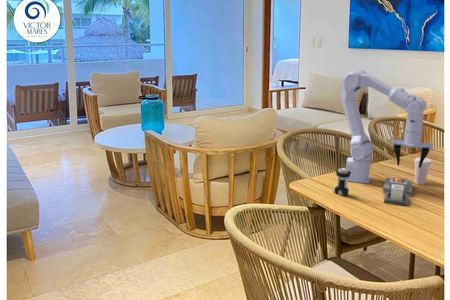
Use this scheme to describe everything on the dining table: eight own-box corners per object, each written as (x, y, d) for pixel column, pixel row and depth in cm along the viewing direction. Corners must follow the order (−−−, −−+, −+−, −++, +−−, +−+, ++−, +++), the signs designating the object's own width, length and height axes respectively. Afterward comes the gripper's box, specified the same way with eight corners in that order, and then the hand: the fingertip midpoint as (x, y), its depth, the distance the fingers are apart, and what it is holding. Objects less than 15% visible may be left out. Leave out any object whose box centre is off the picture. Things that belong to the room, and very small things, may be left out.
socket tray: (383, 202, 170) (384, 199, 170) (385, 195, 177) (385, 191, 177) (407, 206, 168) (407, 202, 167) (408, 198, 175) (408, 194, 174)
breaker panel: (382, 192, 180) (384, 181, 178) (385, 182, 190) (386, 172, 189) (411, 196, 176) (412, 185, 175) (411, 186, 187) (413, 175, 185)
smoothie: (430, 186, 187) (434, 152, 183) (412, 184, 188) (417, 151, 184) (426, 180, 193) (431, 147, 189) (410, 179, 194) (414, 146, 190)
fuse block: (390, 200, 171) (391, 186, 169) (390, 197, 175) (392, 183, 173) (401, 202, 170) (403, 188, 168) (402, 198, 173) (403, 184, 172)
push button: (328, 193, 178) (330, 168, 175) (335, 189, 182) (337, 165, 179) (344, 198, 174) (347, 172, 171) (351, 194, 178) (353, 169, 175)
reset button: (393, 186, 179) (394, 179, 179) (394, 183, 182) (394, 177, 181) (402, 187, 178) (402, 180, 178) (402, 184, 181) (403, 178, 180)
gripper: (392, 131, 175) (388, 166, 179) (434, 135, 170) (429, 171, 174) (393, 127, 181) (389, 161, 185) (434, 131, 176) (429, 165, 180)
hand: (408, 165), depth 180 cm, fingers open, 7 cm apart
